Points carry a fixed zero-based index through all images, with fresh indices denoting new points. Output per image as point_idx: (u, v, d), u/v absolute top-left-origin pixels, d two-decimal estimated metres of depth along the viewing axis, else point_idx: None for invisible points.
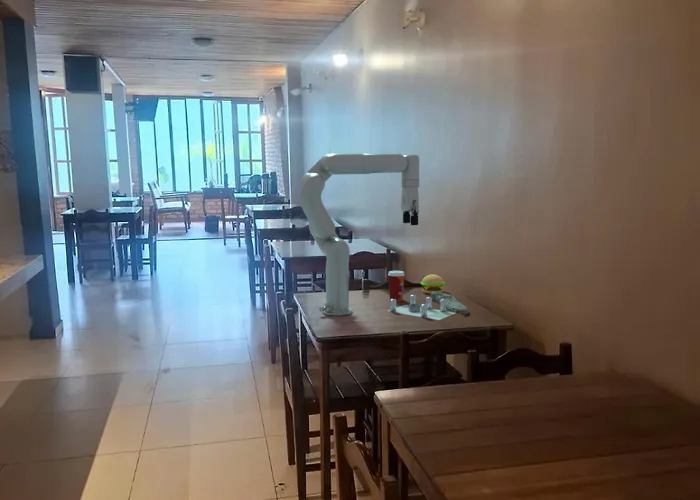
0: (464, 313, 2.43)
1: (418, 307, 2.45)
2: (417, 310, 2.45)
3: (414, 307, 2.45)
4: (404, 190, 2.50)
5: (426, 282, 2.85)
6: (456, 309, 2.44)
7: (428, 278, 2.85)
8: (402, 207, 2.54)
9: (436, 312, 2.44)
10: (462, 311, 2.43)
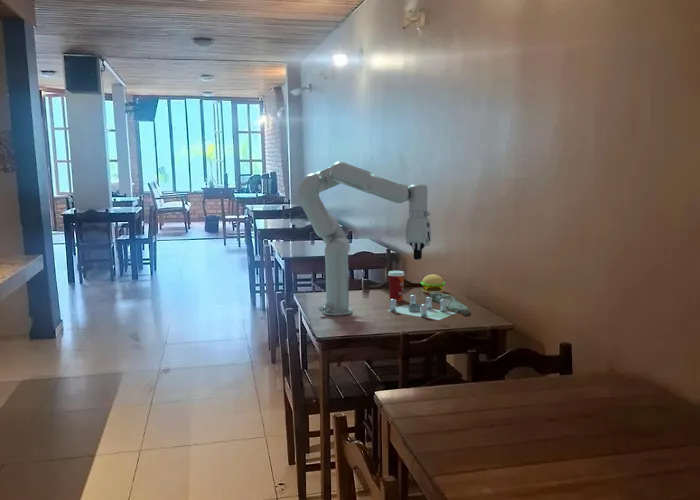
0: (465, 313, 2.43)
1: (418, 307, 2.45)
2: (417, 310, 2.45)
3: (414, 307, 2.45)
4: None
5: (426, 282, 2.85)
6: (457, 309, 2.44)
7: (428, 278, 2.85)
8: None
9: (436, 312, 2.44)
10: (463, 311, 2.43)
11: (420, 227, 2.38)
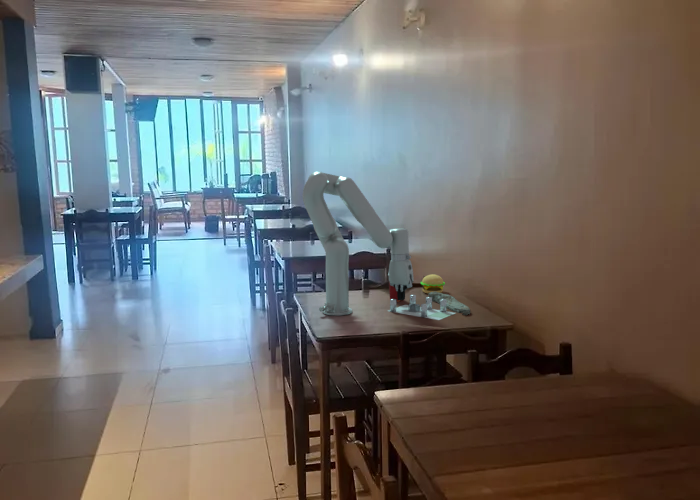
0: (467, 313, 2.43)
1: (418, 307, 2.45)
2: (417, 310, 2.45)
3: (414, 307, 2.45)
4: None
5: (426, 282, 2.85)
6: (459, 309, 2.44)
7: (428, 278, 2.85)
8: None
9: (436, 312, 2.44)
10: (465, 311, 2.43)
11: (402, 270, 2.46)
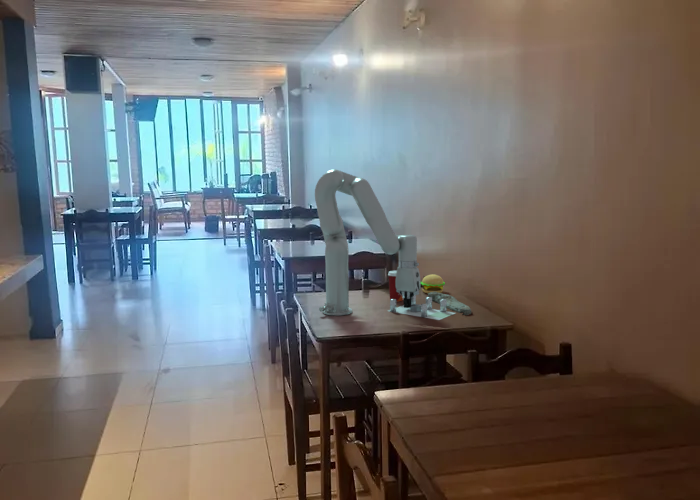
0: (468, 313, 2.43)
1: (419, 307, 2.45)
2: (418, 310, 2.45)
3: (415, 307, 2.44)
4: None
5: (426, 282, 2.85)
6: (460, 309, 2.44)
7: (428, 278, 2.85)
8: None
9: (436, 312, 2.44)
10: (466, 311, 2.43)
11: (410, 277, 2.44)
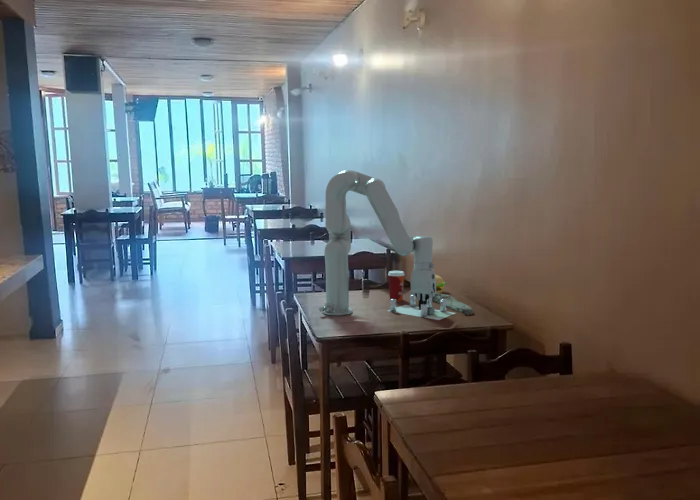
0: (470, 312, 2.44)
1: (432, 310, 2.39)
2: (432, 313, 2.39)
3: (428, 310, 2.39)
4: None
5: None
6: (462, 309, 2.44)
7: None
8: None
9: (436, 312, 2.44)
10: (468, 311, 2.43)
11: (425, 279, 2.39)
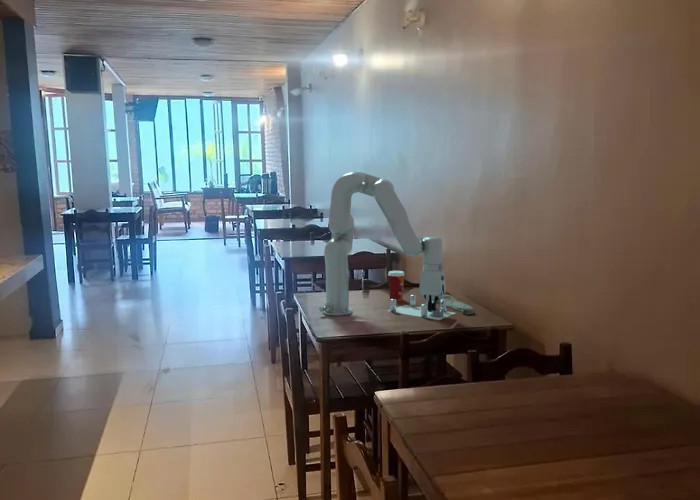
0: (471, 312, 2.44)
1: (441, 312, 2.37)
2: (441, 315, 2.37)
3: (437, 312, 2.36)
4: None
5: None
6: (463, 309, 2.44)
7: None
8: None
9: None
10: (469, 310, 2.44)
11: (435, 280, 2.36)
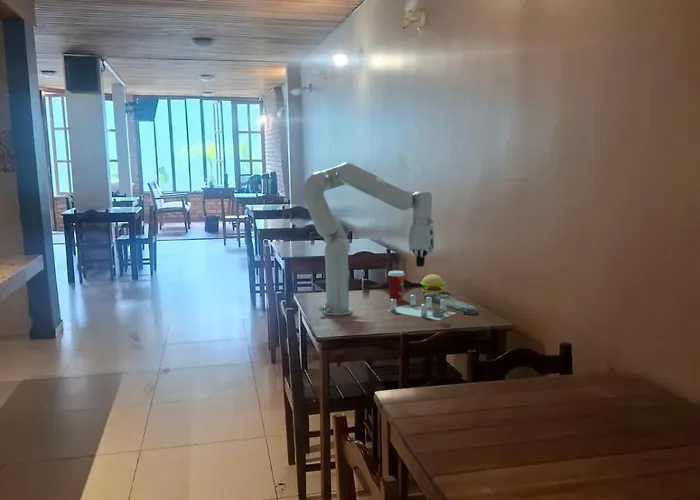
0: (475, 312, 2.45)
1: (442, 312, 2.36)
2: (441, 315, 2.36)
3: (438, 312, 2.36)
4: None
5: (426, 282, 2.85)
6: (467, 308, 2.45)
7: (428, 278, 2.85)
8: None
9: None
10: (473, 310, 2.44)
11: (424, 234, 2.38)
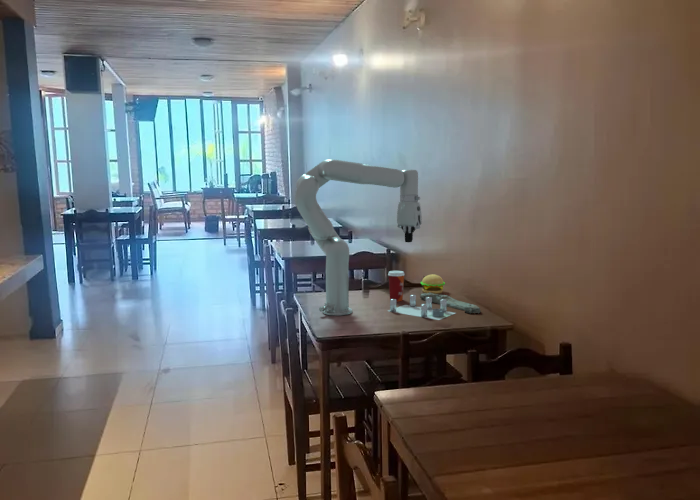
0: (479, 311, 2.46)
1: (442, 312, 2.36)
2: (441, 315, 2.36)
3: (438, 312, 2.36)
4: None
5: (426, 282, 2.85)
6: (471, 308, 2.45)
7: (428, 278, 2.85)
8: None
9: None
10: (477, 309, 2.45)
11: (411, 211, 2.46)
